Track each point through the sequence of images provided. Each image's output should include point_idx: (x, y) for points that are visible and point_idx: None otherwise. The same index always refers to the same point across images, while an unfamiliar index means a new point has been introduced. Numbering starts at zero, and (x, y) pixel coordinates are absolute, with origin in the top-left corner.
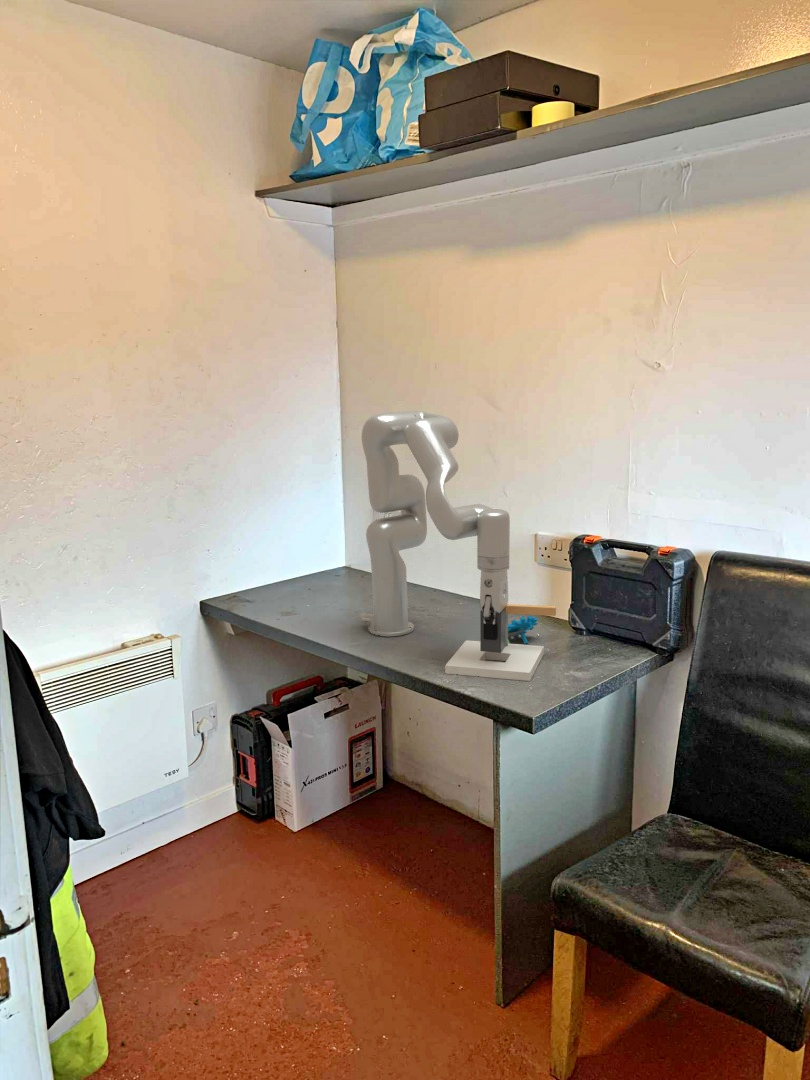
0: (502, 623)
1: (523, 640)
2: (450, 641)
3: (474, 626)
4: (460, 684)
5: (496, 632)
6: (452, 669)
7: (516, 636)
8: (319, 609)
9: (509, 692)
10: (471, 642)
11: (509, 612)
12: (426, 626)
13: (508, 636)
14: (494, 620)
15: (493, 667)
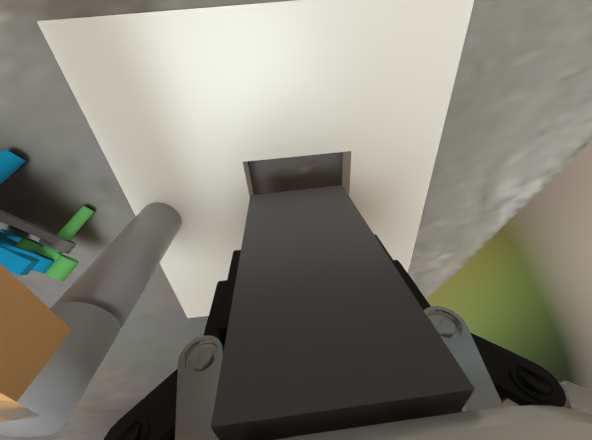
0: (351, 279)
1: (11, 172)
2: (171, 337)
3: None
4: (467, 224)
5: (392, 260)
6: None
7: None
8: None
9: (561, 56)
10: (197, 302)
11: (44, 322)
12: (111, 394)
13: (50, 232)
14: (473, 340)
15: (410, 175)
